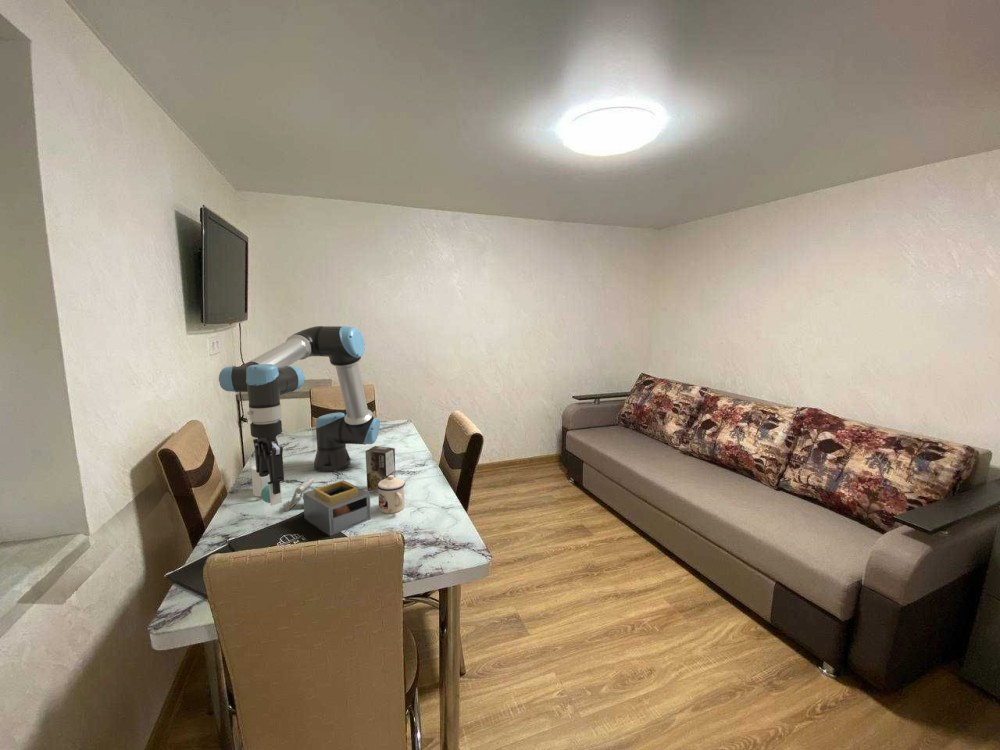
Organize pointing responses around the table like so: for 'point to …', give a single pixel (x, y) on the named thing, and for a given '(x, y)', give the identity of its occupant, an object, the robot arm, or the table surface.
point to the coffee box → (379, 466)
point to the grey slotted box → (336, 506)
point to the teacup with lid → (391, 495)
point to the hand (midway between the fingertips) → (271, 500)
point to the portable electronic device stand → (299, 490)
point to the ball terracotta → (341, 510)
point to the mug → (256, 482)
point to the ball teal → (265, 494)
